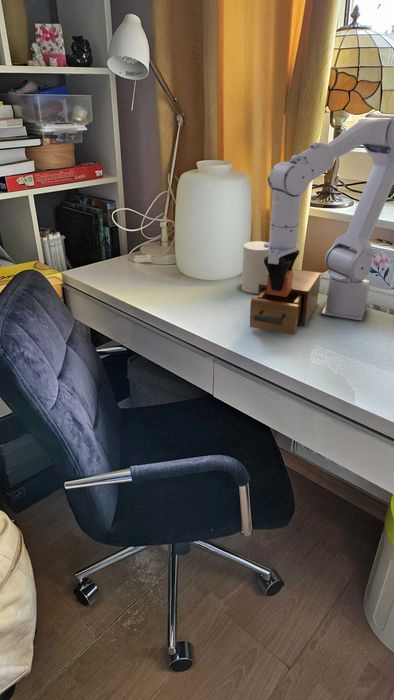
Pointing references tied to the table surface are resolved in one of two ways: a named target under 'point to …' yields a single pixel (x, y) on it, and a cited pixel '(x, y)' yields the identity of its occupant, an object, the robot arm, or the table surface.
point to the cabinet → (302, 290)
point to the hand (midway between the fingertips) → (279, 286)
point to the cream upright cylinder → (253, 265)
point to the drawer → (276, 312)
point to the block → (286, 286)
